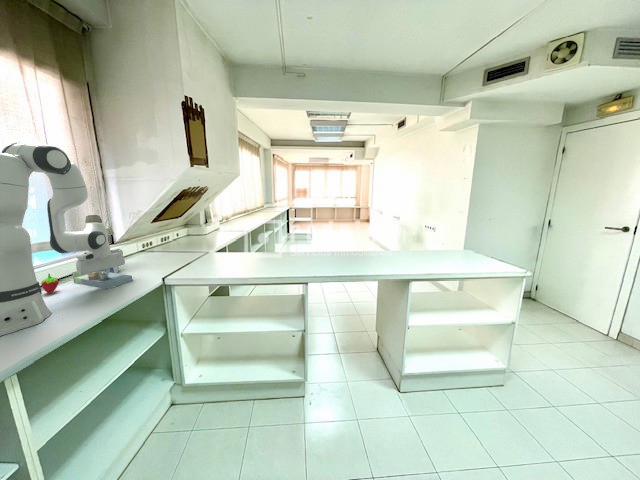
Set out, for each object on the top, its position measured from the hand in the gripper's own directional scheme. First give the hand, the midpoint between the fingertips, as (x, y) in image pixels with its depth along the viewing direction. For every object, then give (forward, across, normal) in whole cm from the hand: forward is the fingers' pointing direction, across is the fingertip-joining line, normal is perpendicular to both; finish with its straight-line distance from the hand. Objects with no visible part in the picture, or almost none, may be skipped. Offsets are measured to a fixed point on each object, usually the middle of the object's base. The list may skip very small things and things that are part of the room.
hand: (104, 277), depth 135 cm
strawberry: (+4, +16, -14) cm, 22 cm away
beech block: (+1, +1, -6) cm, 7 cm away
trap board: (+4, -2, -7) cm, 9 cm away
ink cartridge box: (+4, -12, -19) cm, 23 cm away
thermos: (+4, -13, -30) cm, 33 cm away
